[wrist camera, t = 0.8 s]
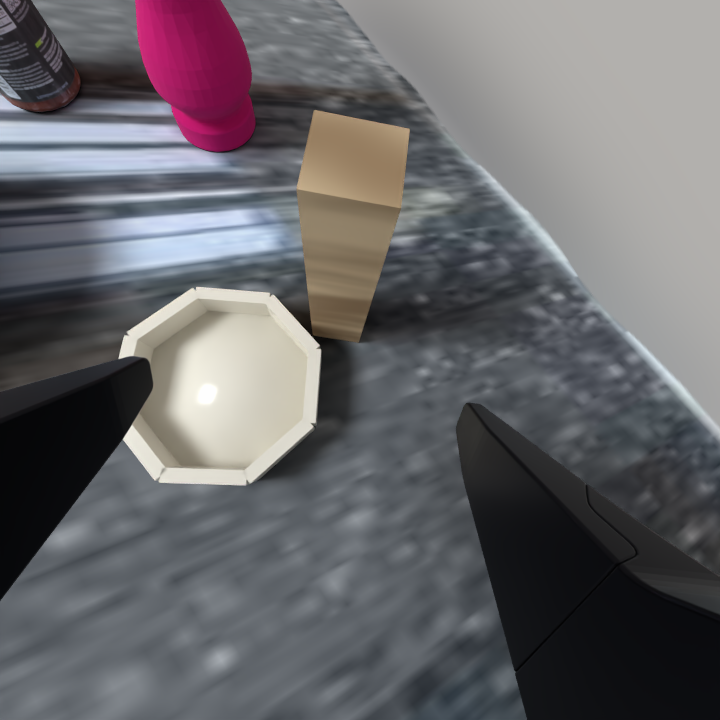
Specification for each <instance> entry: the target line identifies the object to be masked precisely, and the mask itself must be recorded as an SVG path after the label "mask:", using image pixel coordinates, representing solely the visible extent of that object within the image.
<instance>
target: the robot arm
mask: <svg viewBox="0 0 720 720" xmlns="http://www.w3.org/2000/svg"><path fill="white" fill-rule="evenodd" d="M152 389H153V378H152V372H151V366H150V362H149V360H148V359H147V358H144V357H137V356H128V357H124V358H121V359H117V360H114V361H110V362H106V363H103V364H99V365H96V366H92V367H88V368H85V369H81V370H77V371H74V372H70V373H67V374H63V375H59V376H56V377H52V378H49V379H45V380H41V381H38V382H34V383H31V384H27V385H23V386H20V387H16V388H13V389H9V390H5V391H2V392H0V601H1V599H2V598H3V597H4V595H5V594H6V593H7V591H8V590H9V589H10V587H11V586H12V585H13V583H14V582H15V581H16V579H17V578H18V577H19V575H20V574H21V573H22V572H23V570H24V569H25V568H26V566H27V565H28V564H29V562H30V561H31V560H32V558H33V557H34V556H35V554H36V553H37V552H38V550H39V549H40V548H41V546H42V545H43V544H44V543H45V541H46V540H47V539H48V537H49V536H50V535H51V533H52V532H53V531H54V529H55V528H56V527H57V525H58V524H59V523H60V521H61V520H62V519H63V517H64V516H65V515H66V514H67V512H68V511H69V510H70V508H71V507H72V506H73V504H74V503H75V502H76V500H77V499H78V498H79V496H80V495H81V494H82V492H83V491H84V490H85V488H86V487H87V486H88V484H89V483H90V482H91V481H92V479H93V478H94V477H95V475H96V474H97V473H98V471H99V470H100V469H101V467H102V466H103V465H104V463H105V462H106V461H107V459H108V458H109V457H110V455H111V454H112V453H113V452H114V450H115V449H116V448H117V446H118V445H119V444H120V442H121V441H122V439H123V438H124V437H125V435H126V434H127V432H128V430H129V429H130V427H131V426H132V424H133V422H134V421H135V419H136V417H137V415H138V414H139V412H140V410H141V409H142V407H143V405H144V404H145V402H146V400H147V399H148V397H149V395H150V394H151V392H152ZM456 434H457V441H458V448H459V455H460V462H461V469H462V475H463V480H464V484H465V488H466V492H467V495H468V499H469V503H470V507H471V510H472V514H473V518H474V521H475V525H476V529H477V533H478V536H479V540H480V544H481V548H482V551H483V555H484V559H485V563H486V566H487V570H488V574H489V578H490V581H491V585H492V589H493V592H494V596H495V600H496V604H497V607H498V611H499V615H500V619H501V622H502V626H503V630H504V634H505V637H506V641H507V645H508V649H509V652H510V656H511V660H512V664H513V667H514V670H515V671H516V673H515V676H516V679H517V683H518V687H519V691H520V694H521V698H522V702H523V706H524V709H525V713H526V717H527V720H720V576H719V575H717V574H716V573H714V572H713V571H711V570H710V569H708V568H707V567H705V566H704V565H702V564H701V563H699V562H698V561H696V560H695V559H693V558H692V557H691V556H689V555H688V554H686V553H685V552H683V551H682V550H680V549H679V548H677V547H676V546H674V545H673V544H671V543H670V542H668V541H667V540H665V539H664V538H662V537H661V536H659V535H658V534H657V533H655V532H654V531H652V530H651V529H649V528H648V527H646V526H645V525H643V524H642V523H640V522H639V521H638V520H636V519H635V518H633V517H632V516H630V515H629V514H627V513H626V512H625V511H623V510H622V509H620V508H619V507H618V506H616V505H615V504H614V503H612V502H611V501H609V500H608V499H607V498H605V497H604V496H603V495H601V494H600V493H599V492H597V491H596V490H595V489H593V488H592V487H591V486H589V485H586V484H585V482H584V481H582V480H581V479H580V478H578V477H577V476H576V475H574V474H573V473H572V472H570V471H569V470H568V469H566V468H565V467H564V466H562V465H561V464H560V463H558V462H557V461H556V460H554V459H553V458H552V457H550V456H549V455H548V454H546V453H545V452H544V451H542V450H541V449H540V448H538V447H537V446H536V445H534V444H533V443H532V442H530V441H529V440H528V439H526V438H525V437H524V436H522V435H521V434H520V433H518V432H517V431H516V430H514V429H513V428H512V427H510V426H509V425H508V424H506V423H505V422H504V421H502V420H501V419H500V418H498V417H497V416H496V415H494V414H493V413H492V412H490V411H489V410H488V409H486V408H485V407H483V406H482V405H480V404H475V403H466V404H465V405H464V407H463V410H462V412H461V415H460V417H459V420H458V423H457V426H456Z"/></svg>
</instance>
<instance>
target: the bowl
mask: <svg viewBox="0 0 720 720" xmlns="http://www.w3.org/2000/svg"><path fill="white" fill-rule="evenodd" d="M127 333H128V334H129V336H124V339H123V343H122V347H121V351H120V355H119V359H121V358H124V357H128V356H137V357H144V358H147V359H148V360H149V362H150V366H151V372H152V378H153V389H152V392H151V394H150V395H149V397H148V399H147V400H146V402H145V404H144V405H143V407H142V409H141V410H140V412H139V414H138V415H137V417H136V419H135V421H134V422H133V424H132V426H131V427H130V429H129V430H128V432H127V434H126V435H125V437H124V438H123V440H124V441H125V443H126V444H127V445H128V446H129V448H130V449H131V450H132V452H133V453H134V454H135V456H136V457H137V458H138V459H139V461H140V462H141V463H142V465H143V466H144V467H145V469H146V470H147V471H148V472H149V474H150V475H151V476H152V478H153V479H154V480H155V481H156V480H159V483H186V484H218V485H248V484H251V483H253V482H255V481H257V480H259V479H260V478H261V477H262V476H263V475H265V474H266V473H267V472H268V471H269V470H270V469H271V468H272V467H274V466H275V465H276V464H277V463H278V462H279V461H280V460H281V459H282V458H284V457H285V456H286V455H287V454H288V453H289V452H290V451H291V450H292V449H294V448H295V447H296V446H297V445H298V444H299V443H300V442H301V441H302V440H304V439H305V438H306V437H307V436H308V435H309V434H310V433H311V432H313V431H314V430H315V428H314V427H313V426H317V414H318V401H319V387H320V374H321V361H322V357H321V349H320V345H319V344H318V343H317V342H316V341H315V340H314V339H313V337H312V336H311V335H310V334H309V333H308V332H307V331H306V330H305V329H304V328H303V327H302V325H301V324H300V323H299V322H298V321H297V320H296V319H295V318H294V317H293V316H292V314H291V313H290V312H289V311H288V310H287V309H286V308H285V307H284V306H283V305H282V304H281V302H280V301H279V300H278V299H277V298H276V297H275V296H274V295H272V296H271V294H270V293H264V292H252V291H240V290H228V289H216V288H204V287H196V291H195V290H194V289H193V288H192V289H190V290H189V291H187V292H186V293H184V294H183V295H181V296H180V297H178V298H177V299H175V300H174V301H172V302H171V303H169V304H168V305H167V306H165V307H164V308H162V309H161V310H159V311H158V312H156V313H155V314H153V315H152V316H150V317H149V318H147V319H146V320H144V321H143V322H141V323H140V324H138V325H137V326H135V327H134V328H132V329H131V330H129V331H128V332H127Z"/></svg>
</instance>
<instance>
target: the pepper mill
mask: <svg viewBox="0 0 720 720" xmlns="http://www.w3.org/2000/svg"><path fill="white" fill-rule="evenodd" d="M135 3H136V17H137V31H138V42H139V46H140V51H141V55H142V60H143V63H144V66H145V68H146V71H147V74H148V76H149V79H150V81H151V83H152V85H153V86H154V88H155V90H156V91H157V92H158V93H159V95H160V96H161V97H162V98H163V99H164V100H165V101H167V102H168V103H169V104H170V105H171V108H172V112H173V115H174V117H175V119H176V121H177V124H178V126H179V128H180V130H181V132H182V134H183V135H184V137H185V138H186V139H187V140H188V141H189V142H191V143H192V144H193V145H195V146H196V147H199V148H201V149H204V150H207V151H214V152H221V151H229V150H233V149H236V148H238V147H240V146H242V145H243V144H245V143H246V142H247V141H248V140H249V139H250V138H251V136H252V134H253V132H254V130H255V124H256V122H255V115H254V111H253V106H252V102H251V98H250V96H249V94H248V91H249V89H250V86H251V80H252V72H251V65H250V61H249V58H248V54H247V51H246V48H245V45H244V42H243V40H242V38H241V36H240V33H239V31H238V29H237V27H236V25H235V24H234V22H233V20H232V19H231V17H230V15H229V13H228V12H227V10H226V8H225V7H224V5H223V3H222V2H221V0H135Z"/></svg>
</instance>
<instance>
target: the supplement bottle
mask: <svg viewBox="0 0 720 720" xmlns="http://www.w3.org/2000/svg"><path fill="white" fill-rule="evenodd" d="M80 85H81V81H80V76H79V74H78V72H77V70H76V68H75V67H74V65H73V63H72V62H71V60H70V58H69V57H68V55H67V54H66V52H65V51H64V49H63V48H62V46H61V45H60V43H59V42H58V40H57V39H56V37H55V36H54V34H53V33H52V31H51V30H50V28H49V27H48V25H47V24H46V22H45V21H44V19H43V18H42V16H41V15H40V13H39V12H38V10H37V9H36V7H35V6H34V4H33V2H32V1H31V0H0V93H1V94H2V95H3V96H4V97H5V98H6V99H7V100H8V101H9V102H11V103H12V104H13V105H15V106H17V107H20V108H22V109H25V110H29V111H35V112H45V111H51V110H52V111H53V110H55V109H59V108H61V107H65V106H66V105H67V104H68V103H70V102H71V101H72V100H73V99H74V98H75V97H76V95H77V94H78V92H79V89H80Z"/></svg>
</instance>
